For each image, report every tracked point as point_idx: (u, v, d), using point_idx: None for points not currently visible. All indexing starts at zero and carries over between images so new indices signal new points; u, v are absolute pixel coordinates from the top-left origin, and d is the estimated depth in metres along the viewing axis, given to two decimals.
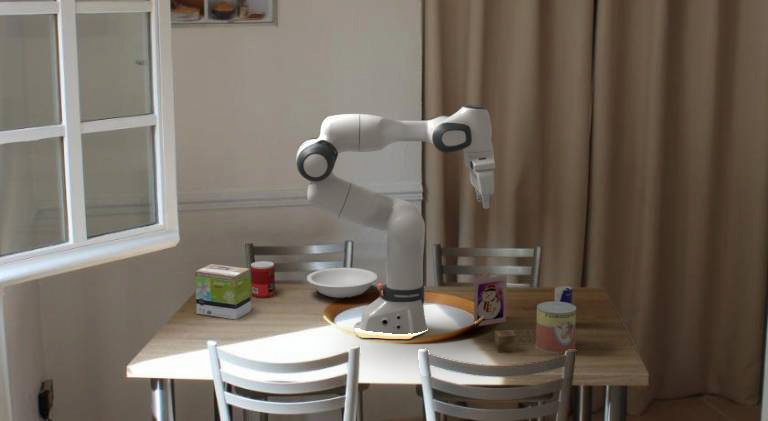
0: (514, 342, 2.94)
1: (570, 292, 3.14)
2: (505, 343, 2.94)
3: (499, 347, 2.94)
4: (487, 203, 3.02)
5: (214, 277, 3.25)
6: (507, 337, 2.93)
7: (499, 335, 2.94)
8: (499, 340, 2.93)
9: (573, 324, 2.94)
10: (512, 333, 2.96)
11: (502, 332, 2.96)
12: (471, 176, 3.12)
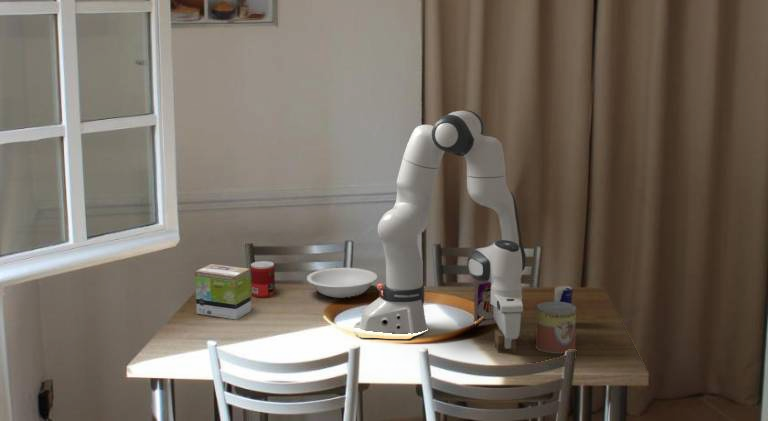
0: (514, 342, 2.94)
1: (570, 292, 3.14)
2: None
3: (499, 347, 2.94)
4: (509, 343, 2.92)
5: (214, 277, 3.25)
6: None
7: (499, 335, 2.94)
8: (499, 340, 2.93)
9: (573, 324, 2.94)
10: None
11: None
12: (495, 311, 3.01)
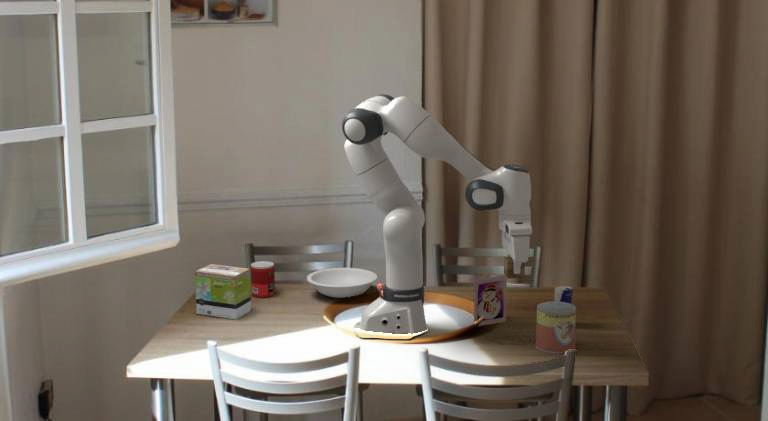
0: (523, 267, 2.89)
1: (570, 292, 3.14)
2: None
3: (508, 272, 2.89)
4: (518, 268, 2.88)
5: (214, 277, 3.25)
6: None
7: (508, 260, 2.89)
8: (508, 265, 2.89)
9: (573, 324, 2.94)
10: None
11: (511, 258, 2.92)
12: (503, 238, 2.97)
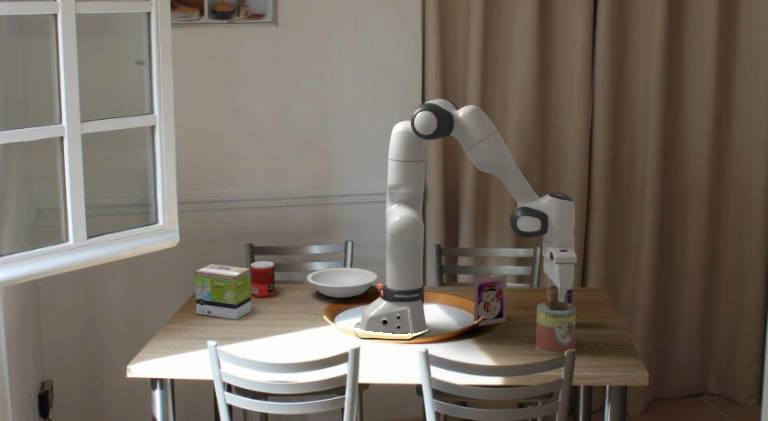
0: (566, 299, 2.94)
1: (570, 292, 3.14)
2: (557, 300, 2.93)
3: (551, 304, 2.93)
4: (562, 296, 2.90)
5: (214, 277, 3.25)
6: None
7: (551, 292, 2.94)
8: (551, 297, 2.93)
9: (573, 324, 2.94)
10: None
11: (554, 289, 2.96)
12: (546, 264, 3.00)
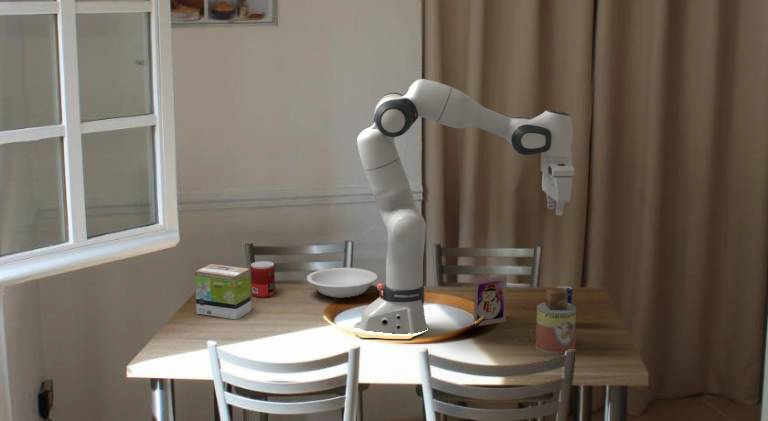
0: (566, 299, 2.94)
1: (570, 292, 3.14)
2: (557, 300, 2.93)
3: (551, 304, 2.93)
4: (560, 210, 2.98)
5: (214, 277, 3.25)
6: (559, 294, 2.93)
7: (551, 292, 2.94)
8: (551, 297, 2.93)
9: (573, 324, 2.94)
10: (564, 290, 2.95)
11: (554, 289, 2.96)
12: (544, 182, 3.09)
